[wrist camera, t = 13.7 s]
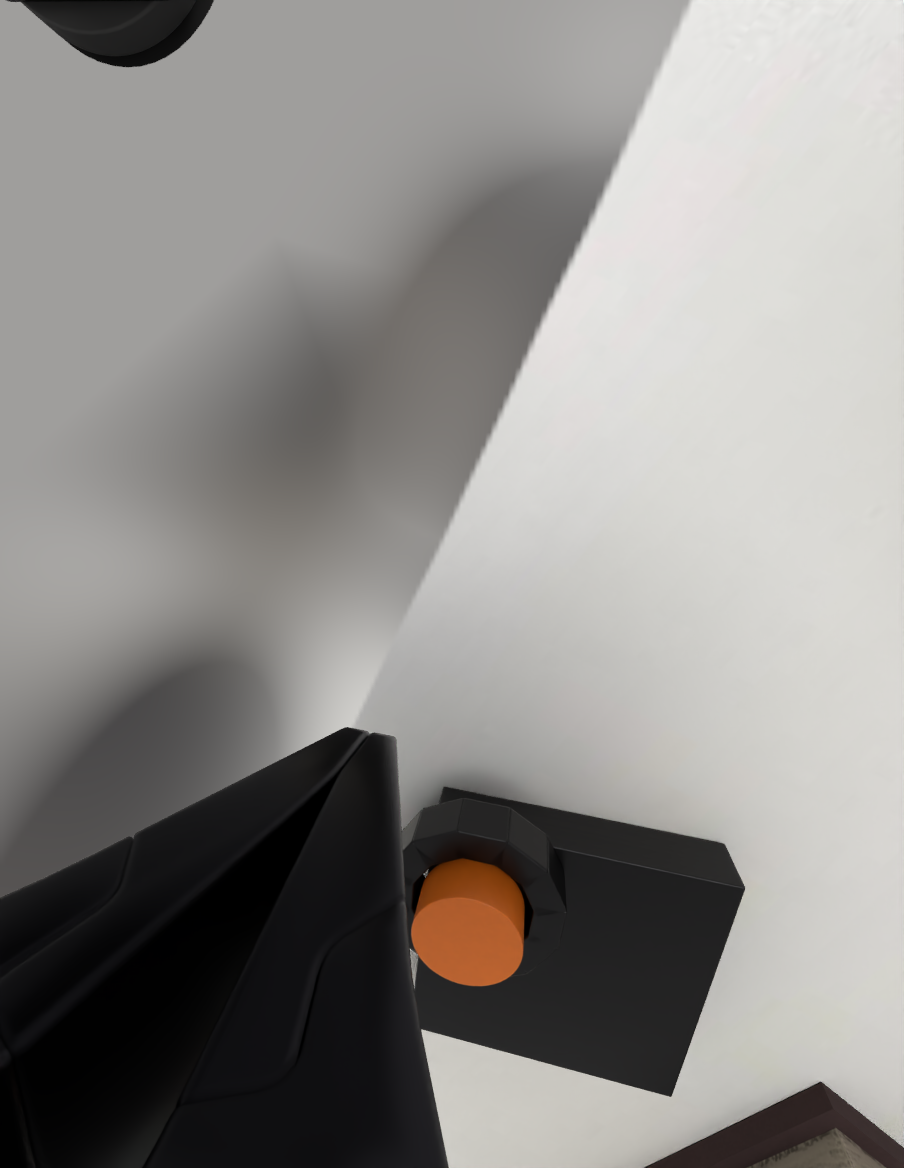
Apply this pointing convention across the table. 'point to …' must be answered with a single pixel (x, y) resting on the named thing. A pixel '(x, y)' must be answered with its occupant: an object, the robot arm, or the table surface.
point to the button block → (582, 936)
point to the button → (469, 923)
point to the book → (796, 1139)
